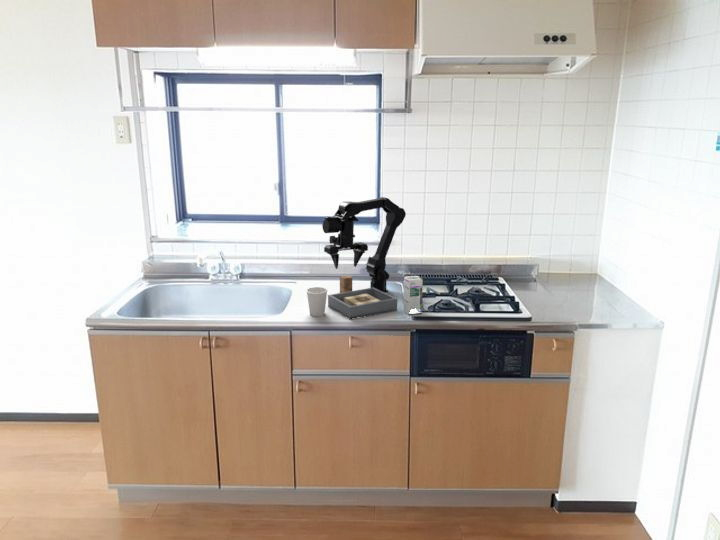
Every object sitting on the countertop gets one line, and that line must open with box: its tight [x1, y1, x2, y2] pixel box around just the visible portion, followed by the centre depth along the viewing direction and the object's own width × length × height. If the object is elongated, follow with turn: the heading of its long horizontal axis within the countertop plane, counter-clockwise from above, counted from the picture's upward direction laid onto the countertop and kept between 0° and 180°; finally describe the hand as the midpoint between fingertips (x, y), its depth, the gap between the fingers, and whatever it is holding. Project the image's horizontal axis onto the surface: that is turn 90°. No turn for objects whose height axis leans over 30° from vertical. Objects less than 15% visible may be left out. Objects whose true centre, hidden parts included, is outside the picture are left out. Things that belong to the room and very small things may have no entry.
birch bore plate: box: [344, 294, 381, 306], centre depth 218 cm, size 11×11×3 cm
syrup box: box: [403, 275, 424, 315], centre depth 213 cm, size 6×6×14 cm
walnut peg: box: [339, 275, 353, 293], centre depth 233 cm, size 4×4×9 cm
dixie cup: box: [305, 286, 328, 317], centre depth 211 cm, size 8×8×10 cm
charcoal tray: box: [327, 287, 398, 320], centre depth 218 cm, size 22×18×5 cm
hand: (345, 267), depth 231 cm, fingers open, 9 cm apart
